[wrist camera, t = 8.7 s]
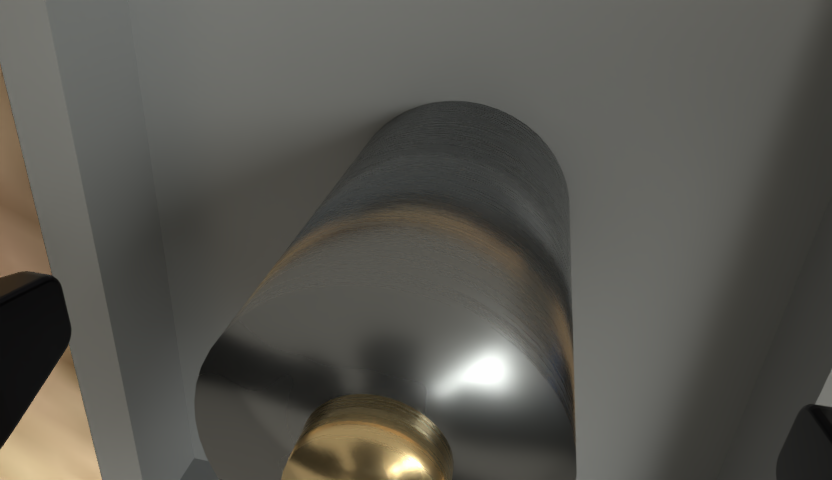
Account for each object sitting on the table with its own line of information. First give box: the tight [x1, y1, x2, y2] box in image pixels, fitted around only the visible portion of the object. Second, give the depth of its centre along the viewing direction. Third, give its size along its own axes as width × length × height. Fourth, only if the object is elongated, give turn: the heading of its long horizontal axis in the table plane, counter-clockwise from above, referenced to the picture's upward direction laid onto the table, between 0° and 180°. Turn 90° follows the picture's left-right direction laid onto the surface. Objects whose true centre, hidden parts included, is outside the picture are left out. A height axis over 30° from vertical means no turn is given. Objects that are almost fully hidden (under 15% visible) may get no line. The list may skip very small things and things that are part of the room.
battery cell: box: [194, 101, 577, 480], centre depth 9 cm, size 4×4×7 cm
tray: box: [0, 0, 832, 480], centre depth 12 cm, size 14×18×3 cm
